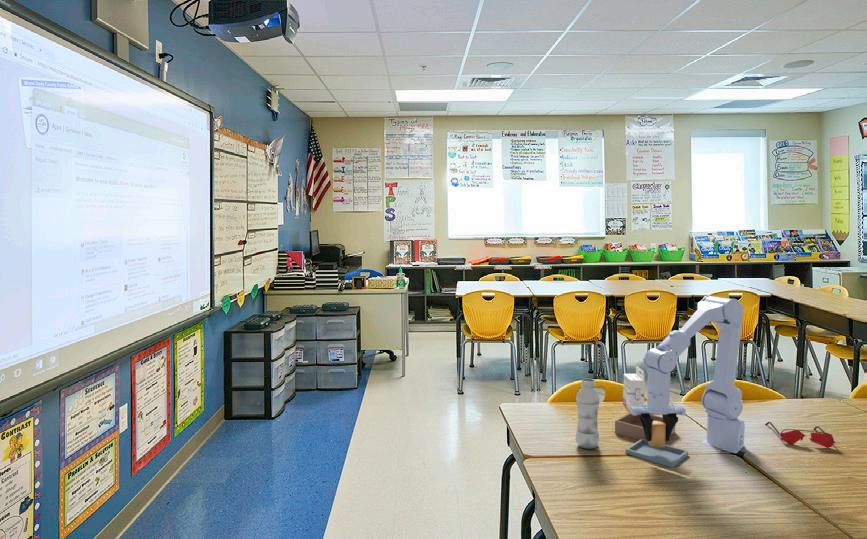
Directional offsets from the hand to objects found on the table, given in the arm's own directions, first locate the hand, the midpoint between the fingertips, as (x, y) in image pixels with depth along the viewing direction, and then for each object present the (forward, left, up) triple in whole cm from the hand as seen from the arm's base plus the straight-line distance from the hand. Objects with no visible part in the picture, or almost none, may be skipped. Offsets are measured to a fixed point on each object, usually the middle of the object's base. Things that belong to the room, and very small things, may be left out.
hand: (657, 439), depth 149 cm
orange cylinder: (0, 0, -1) cm, 1 cm away
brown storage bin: (+9, -13, -5) cm, 17 cm away
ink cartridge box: (+22, -33, -5) cm, 40 cm away
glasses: (-25, -45, -6) cm, 52 cm away
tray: (0, 0, -5) cm, 5 cm away
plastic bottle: (+17, +8, -5) cm, 19 cm away
